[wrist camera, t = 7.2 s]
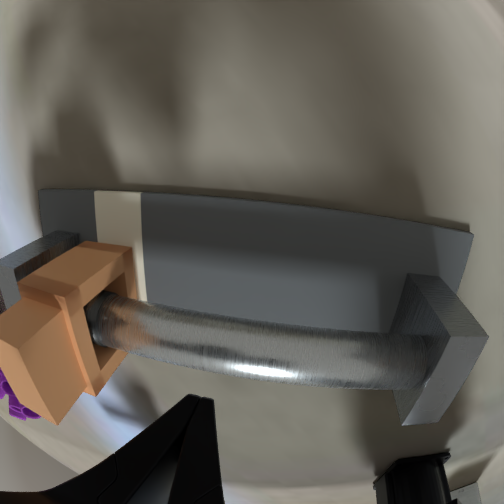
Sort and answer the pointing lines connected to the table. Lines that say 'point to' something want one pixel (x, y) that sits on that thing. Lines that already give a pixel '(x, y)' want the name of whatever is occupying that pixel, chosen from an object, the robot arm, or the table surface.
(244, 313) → the grey base plate
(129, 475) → the robot arm
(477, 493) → the skincare box
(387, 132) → the table surface
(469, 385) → the table surface
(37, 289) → the collar
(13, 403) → the purple tube cluster
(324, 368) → the linear slide rail
